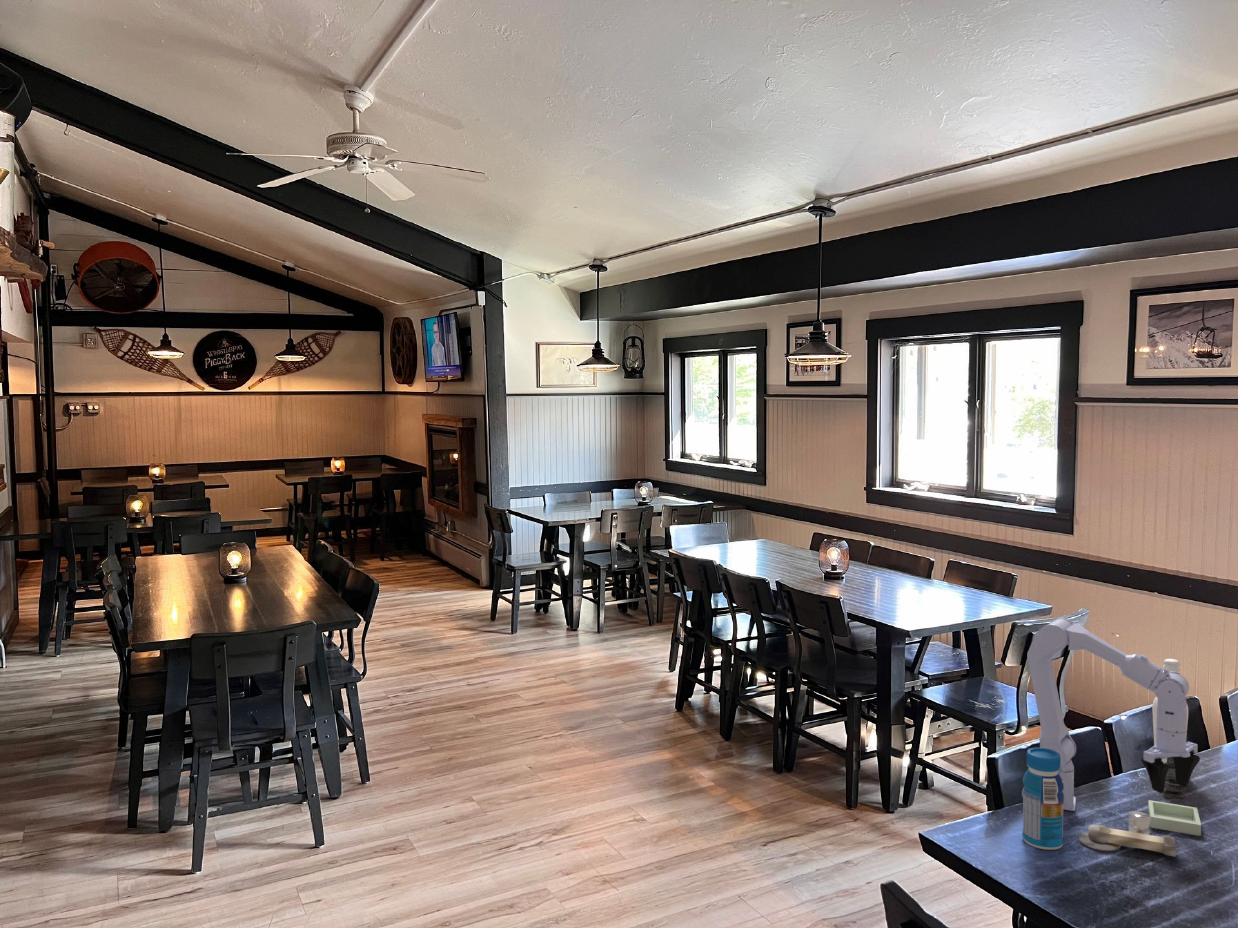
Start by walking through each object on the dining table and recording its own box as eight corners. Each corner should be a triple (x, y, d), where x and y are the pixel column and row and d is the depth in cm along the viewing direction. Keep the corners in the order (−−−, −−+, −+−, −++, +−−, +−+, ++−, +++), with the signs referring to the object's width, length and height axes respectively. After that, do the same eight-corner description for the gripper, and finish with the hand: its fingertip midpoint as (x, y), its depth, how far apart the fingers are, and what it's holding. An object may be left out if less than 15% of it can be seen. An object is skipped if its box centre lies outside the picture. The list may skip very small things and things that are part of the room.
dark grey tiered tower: (1179, 789, 223) (1180, 741, 222) (1192, 799, 217) (1193, 750, 216) (1154, 788, 224) (1155, 741, 223) (1166, 798, 218) (1167, 750, 217)
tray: (1150, 827, 203) (1150, 816, 203) (1148, 810, 212) (1148, 799, 212) (1200, 835, 199) (1201, 824, 199) (1196, 818, 207) (1196, 807, 207)
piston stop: (1128, 839, 198) (1129, 817, 198) (1128, 831, 202) (1128, 809, 201) (1149, 842, 196) (1150, 820, 196) (1148, 835, 200) (1149, 813, 199)
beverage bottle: (1015, 842, 197) (1016, 753, 196) (1029, 829, 204) (1029, 742, 202) (1056, 855, 192) (1057, 763, 190) (1069, 840, 198) (1070, 751, 197)
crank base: (1078, 846, 195) (1078, 843, 195) (1079, 830, 202) (1079, 827, 202) (1120, 854, 191) (1120, 851, 191) (1120, 838, 199) (1120, 835, 199)
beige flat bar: (1088, 840, 196) (1088, 831, 196) (1088, 830, 200) (1088, 822, 200) (1175, 856, 188) (1175, 847, 188) (1173, 846, 192) (1173, 837, 192)
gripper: (1164, 739, 194) (1163, 800, 195) (1211, 729, 199) (1209, 789, 200) (1135, 728, 201) (1134, 788, 201) (1181, 719, 206) (1179, 777, 207)
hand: (1169, 788), depth 201 cm, fingers open, 7 cm apart
